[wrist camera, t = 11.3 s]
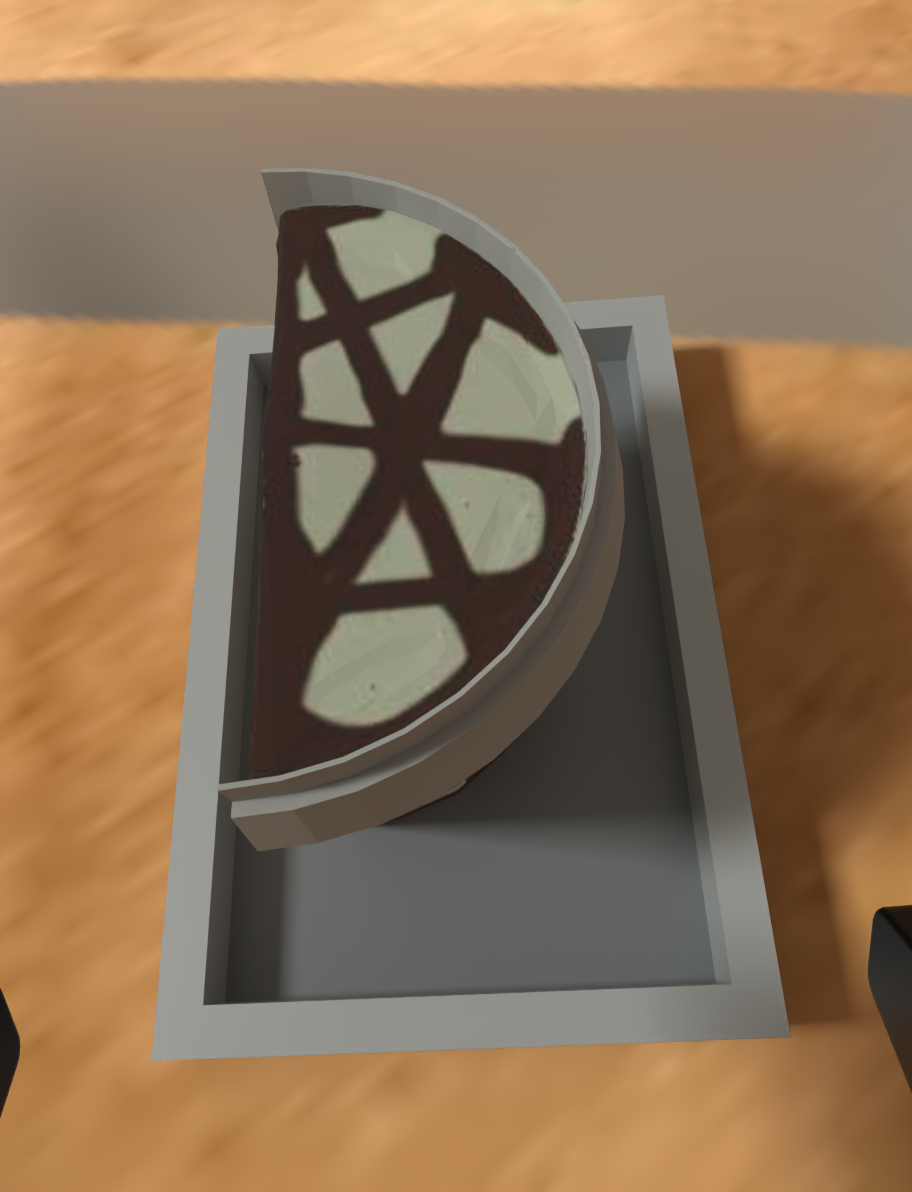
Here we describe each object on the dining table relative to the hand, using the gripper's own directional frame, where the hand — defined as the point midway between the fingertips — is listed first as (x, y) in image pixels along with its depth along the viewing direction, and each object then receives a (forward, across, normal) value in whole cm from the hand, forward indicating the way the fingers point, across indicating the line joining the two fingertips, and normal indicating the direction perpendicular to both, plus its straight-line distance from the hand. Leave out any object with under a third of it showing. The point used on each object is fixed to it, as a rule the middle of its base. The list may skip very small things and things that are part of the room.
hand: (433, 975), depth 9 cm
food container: (+14, 0, +3) cm, 14 cm away
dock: (+14, 0, +3) cm, 15 cm away
